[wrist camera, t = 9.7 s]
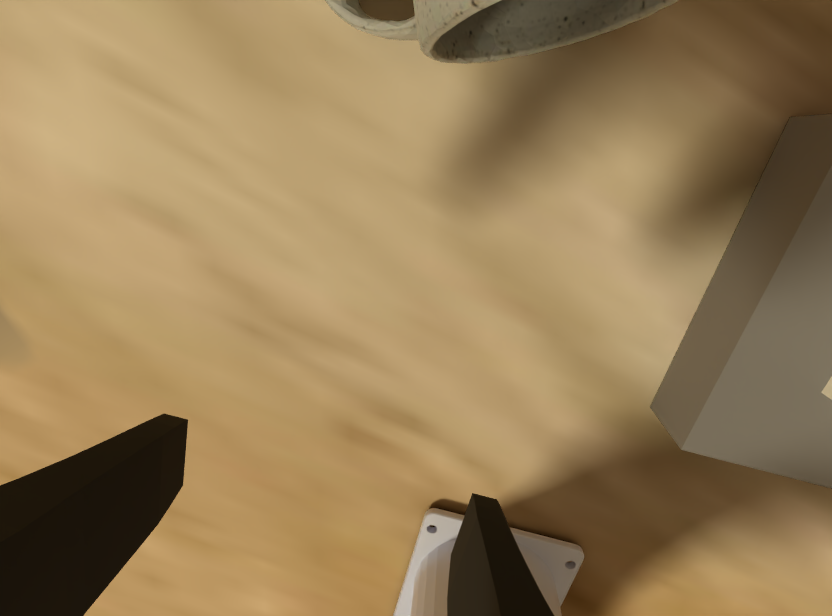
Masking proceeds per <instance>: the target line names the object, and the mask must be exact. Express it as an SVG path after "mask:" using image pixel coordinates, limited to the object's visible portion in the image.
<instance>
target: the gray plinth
mask: <svg viewBox="0 0 832 616" xmlns="http://www.w3.org/2000/svg"><path fill="white" fill-rule="evenodd" d="M831 377H832V114H821V115H809V116H798V117H790V118H789V120H788V122H787V124H786V127H785V129H784V131H783V133H782V135H781V137H780V139H779V141H778V143H777V145H776V147H775V149H774V151H773V153H772V156H771V158H770V160H769V162H768V164H767V166H766V168H765V170H764V172H763V174H762V176H761V178H760V180H759V182H758V185H757V187H756V189H755V191H754V193H753V195H752V197H751V199H750V201H749V203H748V205H747V207H746V209H745V211H744V214H743V216H742V218H741V220H740V222H739V224H738V226H737V228H736V230H735V232H734V234H733V236H732V238H731V240H730V243H729V245H728V247H727V249H726V251H725V253H724V255H723V257H722V259H721V261H720V263H719V265H718V267H717V269H716V272H715V274H714V276H713V278H712V280H711V282H710V284H709V286H708V288H707V290H706V292H705V294H704V296H703V298H702V301H701V303H700V305H699V307H698V309H697V311H696V313H695V315H694V317H693V319H692V321H691V323H690V325H689V327H688V330H687V332H686V334H685V336H684V338H683V340H682V342H681V344H680V346H679V348H678V350H677V352H676V354H675V356H674V359H673V361H672V363H671V365H670V367H669V369H668V371H667V373H666V375H665V377H664V379H663V381H662V383H661V385H660V388H659V390H658V392H657V394H656V396H655V398H654V400H653V402H652V404H651V406H650V408H651V409H652V411H653V412H654V413H655V415H656V416H657V417H658V419H659V420H660V422H661V423H662V424H663V426H664V427H665V428H666V430H667V431H668V433H669V434H670V435H671V437H672V438H673V440H674V441H675V442H676V444H677V445H678V446H679V448H680V449H681V450H684V451H688V452H692V453H696V454H699V455H703V456H707V457H711V458H715V459H719V460H723V461H727V462H731V463H734V464H738V465H742V466H746V467H750V468H754V469H758V470H762V471H766V472H770V473H773V474H777V475H781V476H785V477H789V478H793V479H797V480H801V481H805V482H808V483H812V484H816V485H820V486H824V487H828V488H832V400H831V399H830V398H828V397H827V396H825V395H824V394H823V393H821V392H822V391H823V389H824V387H825V386H826V384H827V383H828V381H829V380H830V378H831Z"/></svg>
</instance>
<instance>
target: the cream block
mask: <svg viewBox="0 0 832 616" xmlns="http://www.w3.org/2000/svg"><path fill="white" fill-rule="evenodd" d="M821 393H823V394H824V395H825V396H827V397H828V398H830V399H831V400H832V377H831V378H830V380H829V381H828V383H827V384H826V386H825V387H824V389H823V391H822V392H821Z"/></svg>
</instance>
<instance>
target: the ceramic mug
mask: <svg viewBox="0 0 832 616" xmlns="http://www.w3.org/2000/svg"><path fill="white" fill-rule="evenodd" d="M325 1H326V2H327V4H328V5H329V6H330V8H331V9H332V10H333V11H334V12H335V13H336V14H337V15H338V16H339V17H340V18H341V19H343V20H344V21H345V22H347V23H348V24H350V25H351V26H353V27H354V28H356V29H358V30H360V31H363V32H366V33H368V34H372V35H375V36H379V37H383V38H387V39H393V40H419V44H420V48H421V50H422V52H423V53H424V54H425V55H426V56H428V57H430V58H432V59H434V60H437V61H440V62H445V63H465V64H467V63H481V62H492V61H499V60H502V59H506V58H511V57H516V56H525V55H531V54H535V53H539V52H543V51H547V50H550V49H554V48H558V47H562V46H568V45H571V44H573V43H575V42H578V41H584V40H586V39H589V38H592V37H595V36H597V35H600V34H603V33H606V32H609V31H612V30H616V29H618V28H621V27H623V26H625V25H628V24H630V23H633V22H636V21H638V20H641V19H644V18H647V17H649V16H650V15H652V14H654V13H655V12H657V11H659V10H661V9H663V8H665V7H668V6H670V5H672V4H674V3H675V2H677V1H678V0H413V4H414V13H415V15H414V16H413V17H411V18H409V19H407V20H403V21H393V20H381V19H373V18H370V17H369V16H367V15H366V14H365V12H363V10H362V9H361V7H360V6H359V1H358V0H325Z"/></svg>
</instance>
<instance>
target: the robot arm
mask: <svg viewBox="0 0 832 616" xmlns="http://www.w3.org/2000/svg"><path fill="white" fill-rule="evenodd" d="M187 425H188V420H187V419H183V418H179V417H175V416H171V415H167V414H162V415H160V416H157V417H155V418H153V419H151V420H149V421H146V422H144V423H142V424H140V425H138V426H136V427H134V428H132V429H129V430H127V431H125V432H123V433H121V434H119V435H117V436H115V437H113V438H110V439H108V440H106V441H104V442H102V443H100V444H97V445H95V446H93V447H91V448H89V449H87V450H84V451H82V452H80V453H78V454H76V455H73V456H71V457H69V458H66V459H64V460H62V461H59V462H57V463H54V464H52V465H50V466H47V467H45V468H43V469H40V470H38V471H35V472H33V473H31V474H28V475H26V476H23V477H21V478H19V479H16V480H14V481H11V482H8V483H6V484H3V485H0V616H83V615H84V614H85V613H86V611H87V610H88V609H89V608H90V607H91V605H92V604H93V603H94V602H95V600H96V599H97V598H98V597H99V596H100V594H101V593H102V592H103V591H104V590H105V588H106V587H107V586H108V585H109V583H110V582H111V581H112V580H113V579H114V577H115V576H116V575H117V574H118V573H119V571H120V570H121V569H122V568H123V566H124V565H125V564H126V563H127V562H128V560H129V559H130V558H131V557H132V556H133V554H134V553H135V552H136V551H137V549H138V548H139V547H140V546H141V545H142V543H143V542H144V541H145V540H146V538H147V537H148V536H149V535H150V533H151V532H152V531H153V530H154V528H155V527H156V526H157V525H158V523H159V522H160V520H161V519H162V517H163V516H164V514H165V513H166V511H167V510H168V508H169V507H170V505H171V504H172V502H173V500H174V499H175V497H176V495H177V494H178V492H179V491H180V489H181V487H182V486H183V477H184V464H185V451H186V438H187ZM429 525H434V526H436V527H430V526H429ZM583 560H584V553H583V550H582V548H581V547H580V546H579V545H576V544H573V543H569V542H565V541H561V540H557V539H554V538H550V537H546V536H542V535H538V534H534V533H530V532H526V531H523V530H519V529H515V528H511V527H509V525H508V523H507V520H506V518H505V516H504V514H503V511H502V509H501V507H500V504H499V503H498V501H497V499H493V498H489V497H485V496H481V495H477V494H473V493H472V496H471V499H470V502H469V505H468V507H467V510H466V513H465V515H461V514H457V513H453V512H449V511H445V510H441V509H437V508H431V509H429V510H427V511H426V513H425V515H424V518H423V521H422V525H421V528H420V531H419V534H418V537H417V541H416V544H415V547H414V550H413V553H412V557H411V560H410V563H409V566H408V569H407V572H406V576H405V579H404V582H403V585H402V588H401V592H400V595H399V598H398V601H397V604H396V607H395V611H394V614H393V616H562V613H561V608H560V607H561V605H562V603H563V601H564V599H565V597H566V595H567V593H568V591H569V589H570V586H571V584H572V582H573V580H574V578H575V576H576V574H577V572H578V570H579V568H580V566H581V564H582V562H583ZM568 561H572V562H568Z"/></svg>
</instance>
